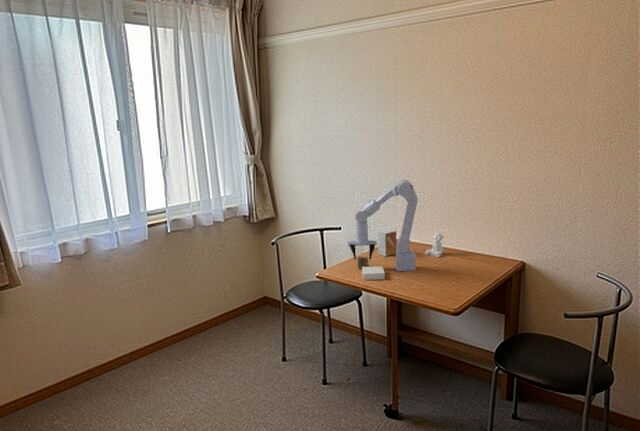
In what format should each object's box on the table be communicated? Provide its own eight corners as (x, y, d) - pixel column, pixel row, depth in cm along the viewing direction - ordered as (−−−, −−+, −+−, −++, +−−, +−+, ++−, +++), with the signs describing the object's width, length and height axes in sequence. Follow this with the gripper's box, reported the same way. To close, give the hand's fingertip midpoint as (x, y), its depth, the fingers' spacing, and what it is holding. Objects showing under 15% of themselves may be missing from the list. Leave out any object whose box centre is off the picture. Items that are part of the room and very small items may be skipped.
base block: (382, 271, 231) (382, 266, 230) (384, 279, 221) (384, 273, 220) (362, 272, 231) (362, 266, 230) (363, 279, 221) (363, 273, 221)
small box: (385, 256, 254) (385, 233, 251) (378, 254, 259) (377, 231, 256) (396, 253, 258) (396, 230, 256) (389, 251, 264) (388, 228, 261)
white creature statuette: (424, 254, 255) (424, 232, 253) (434, 250, 260) (434, 229, 258) (438, 257, 248) (438, 236, 245) (448, 254, 253) (448, 233, 250)
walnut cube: (367, 265, 241) (367, 256, 240) (368, 269, 236) (368, 259, 235) (357, 266, 241) (357, 256, 240) (358, 269, 237) (358, 260, 235)
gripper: (375, 230, 239) (376, 256, 242) (347, 231, 239) (348, 257, 242) (377, 234, 232) (377, 260, 235) (347, 235, 232) (348, 261, 235)
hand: (362, 259), depth 238 cm, fingers open, 7 cm apart
